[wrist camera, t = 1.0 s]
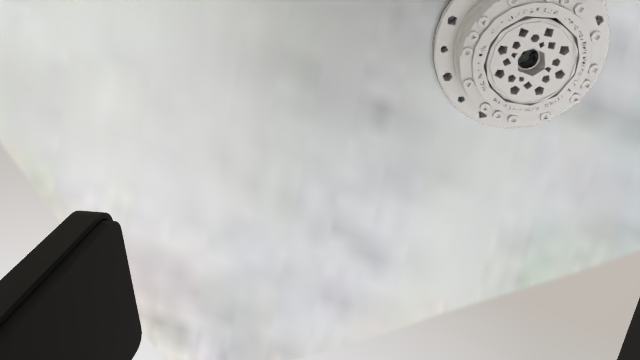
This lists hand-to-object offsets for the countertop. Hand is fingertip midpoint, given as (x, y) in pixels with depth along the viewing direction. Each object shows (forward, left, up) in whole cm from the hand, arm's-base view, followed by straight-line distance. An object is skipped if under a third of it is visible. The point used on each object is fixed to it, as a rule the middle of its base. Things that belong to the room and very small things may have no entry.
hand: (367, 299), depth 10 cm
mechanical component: (-6, +5, -27) cm, 28 cm away
